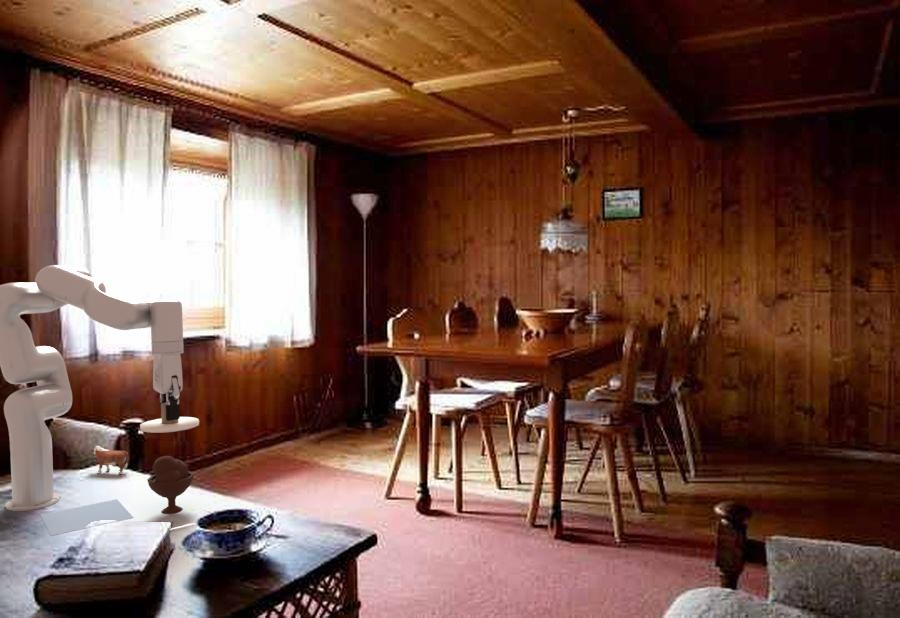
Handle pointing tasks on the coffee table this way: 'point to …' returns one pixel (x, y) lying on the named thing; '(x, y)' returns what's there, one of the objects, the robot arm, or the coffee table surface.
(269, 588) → the coffee table surface
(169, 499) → the ice cream bowl
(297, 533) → the coffee table surface
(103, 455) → the bull figurine
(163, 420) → the lid
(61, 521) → the mat
